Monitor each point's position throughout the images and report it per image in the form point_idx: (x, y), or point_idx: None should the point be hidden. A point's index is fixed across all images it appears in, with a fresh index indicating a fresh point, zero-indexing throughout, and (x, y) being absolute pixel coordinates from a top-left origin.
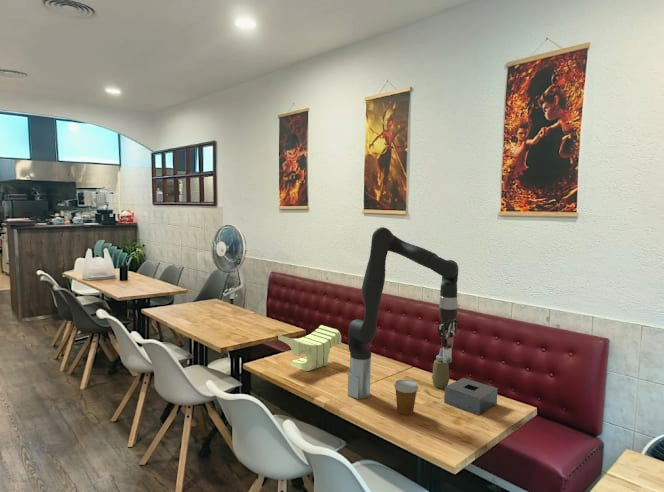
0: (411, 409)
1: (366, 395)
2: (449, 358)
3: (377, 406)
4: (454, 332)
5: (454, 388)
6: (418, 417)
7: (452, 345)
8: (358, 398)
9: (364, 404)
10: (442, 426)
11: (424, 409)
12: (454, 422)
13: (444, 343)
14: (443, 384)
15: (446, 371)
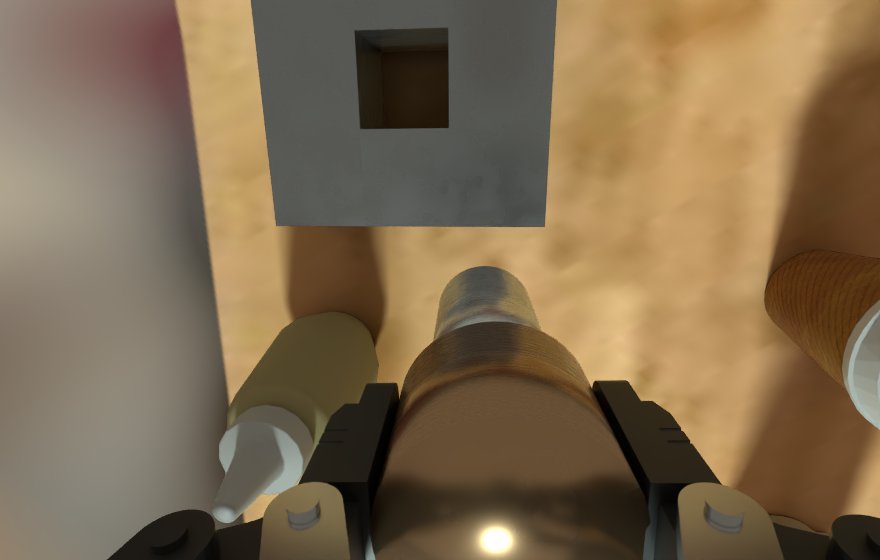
0: (855, 255)
1: (789, 525)
2: (509, 287)
3: (840, 426)
4: (215, 553)
5: (519, 161)
6: (829, 203)
7: (495, 333)
8: (825, 534)
9: (861, 480)
10: (858, 33)
11: (702, 238)
12: (753, 11)
13: (685, 438)
14: (354, 322)
15: (310, 349)
